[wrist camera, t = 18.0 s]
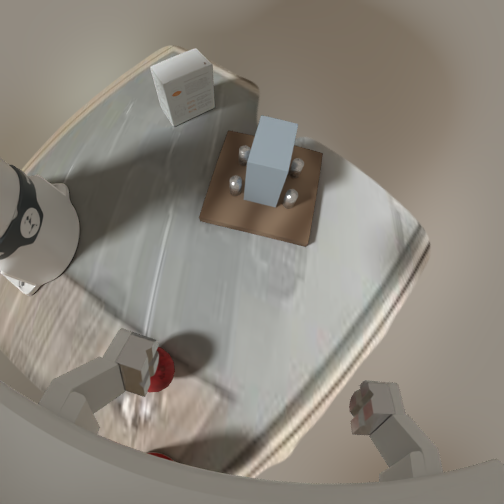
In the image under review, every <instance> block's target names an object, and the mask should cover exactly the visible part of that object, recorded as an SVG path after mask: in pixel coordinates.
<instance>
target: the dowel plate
mask: <svg viewBox="0 0 504 504" xmlns="http://www.w3.org/2000/svg"><path fill="white" fill-rule="evenodd" d="M254 137H255V136H252V135H248V134H243V133H238V132H233V131H228V133H227V135H226V138H225V141H224V144H223V147H222V149H221V152H220V155H219V158H218V161H217V164H216V167H215V170H214V173H213V176H212V179H211V182H210V185H209V188H208V191H207V194H206V197H205V200H204V203H203V207H202V210H201V213H200V216H199V219H200V221H202V222H206V223H210V224H215V225H219V226H223V227H227V228H231V229H236V230H240V231H244V232H248V233H252V234H256V235H260V236H264V237H268V238H273V239H277V240H281V241H285V242H289V243H293V244H297V245H301V246H305V247H306V245H307V244H308V241H309V236H310V230H311V224H312V219H313V213H314V207H315V201H316V195H317V188H318V182H319V175H320V169H321V162H322V155H323V153H320V152H316V151H313V150H309V149H305V148H302V147H298V146H294V147H293V152H292V156H291V161H290V166H289V171H288V174H287V177H286V180H285V182H284V185H283V188H282V191H281V194H280V196H279V199H278V202H277V205H276V207H272V206H268V205H264V204H260V203H255V202H251V201H247V200H244V190H245V180H246V170H247V161H248V158H249V154H250V151H251V147H252V144H253V141H254Z"/></svg>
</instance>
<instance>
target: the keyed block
mask: <svg viewBox="0 0 504 504" xmlns="http://www.w3.org/2000/svg"><path fill="white" fill-rule="evenodd" d="M297 128H298V124H296V123H292V122H288V121H284V120H279V119H276V118H271V117H267V116H263V115H261V118H260V121H259V124H258V128H257V131H256V134H255V137H254V141H253V144H252V147H251V151H250V154H249V158H248V161H247V170H246V180H245V190H244V200H247V201H251V202H255V203H260V204H264V205H268V206H272V207H276V205H277V202H278V199H279V196H280V194H281V191H282V188H283V185H284V182H285V180H286V177H287V174H288V171H289V166H290V161H291V156H292V152H293V147H294V142H295V137H296V132H297Z"/></svg>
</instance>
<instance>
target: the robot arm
mask: <svg viewBox="0 0 504 504" xmlns="http://www.w3.org/2000/svg"><path fill="white" fill-rule="evenodd" d="M78 240H79V219H78V216H77V213H76V210H75V209H74V207H73V205H72V204H71V202H70V198H69V189H68V187H67V186H66V185H65V184H63V183H55V184H51V183H49V182H48V181H47V180H46V179H44V178H43V177H42V176H40V175H38V174H37V175H35V176H27V175H26V174H25V173H24V172H23V171H22V170H20V169H18V168H16V167H15V166H13V165H8V164H7V163H6V162H5V161H4V160H3V159H2V158H0V273H1V274H3V275H4V276H5V277H6V278H7V279H8V280H9V281H10V282H11V283H13V284H14V285H15V286H16V287H17V288H18V289H19V290H20V291H22V292H23V293H24V294H26V295H28V296H30V295H32V294H34V293H35V292H36V291H37V289H38V288H39V287H40V286H41V285H43V284H45V283H47V282H49V281H52V280H53V279H55V278H57V277H58V276H59V275H60V274H61V273H62V272H63V271H64V270H65V269H66V268H67V266H68V265H69V263H70V262H71V260H72V258H73V256H74V253H75V251H76V248H77V244H78ZM24 282H25V285H24ZM157 348H158V340H155V339H152V338H149V337H146V336H143V335H140V334H137V333H134V332H131V331H128V330H126V329H123V328H121V329H120V330H119V331H118V333H117V334H116V336H115V337H114V339H113V341H112V342H111V344H110V346H109V347H108V349H107V351H106V353H105V354H104V356H103V358H102V357H98V358H96V359H94V360H92V361H90V362H88V363H86V364H84V365H82V366H80V367H78V368H76V369H73V370H71V371H69V372H67V373H65V374H63V375H61V376H59V377H57V378H55V379H53V380H52V382H51V384H50V385H49V387H48V388H47V390H46V392H45V393H44V395H43V397H42V398H41V400H40V402H39V403H38V404H37V403H35V402H34V401H32V400H30V399H29V398H27V397H25V396H24V395H22V394H21V393H19V392H18V391H16V390H14V389H13V388H11V387H10V386H8V385H7V384H5V383H4V382H3V381H1V380H0V504H504V464H503V463H502V462H501V461H500V460H498V459H493V460H489V461H486V462H483V463H479V464H476V465H472V466H468V467H465V468H461V469H456V470H453V471H448V472H443V471H442V465H441V460H440V455H439V450H438V448H437V446H436V445H435V444H434V443H433V442H432V441H431V440H430V438H428V436H427V435H426V434H425V433H424V432H423V431H422V429H421V428H420V427H419V426H418V425H417V424H416V423H415V421H413V419H412V418H411V417H410V416H409V415H406V414H405V409H404V405H403V401H402V397H401V393H400V389H399V385H398V384H397V383H390V382H378V381H363V382H362V383H361V385H360V389H359V390H357V391H356V392H354V394H353V395H352V397H351V400H350V406H349V408H350V412H351V414H352V415H353V419H352V420H351V429H352V434H355V435H370V438H371V440H372V441H373V443H374V444H375V446H376V448H377V449H378V451H379V452H380V454H381V455H382V457H383V459H384V460H385V462H386V463H387V465H388V466H389V468H388V469H386V470H385V471H383V472H381V473H380V474H379V482H370V483H347V484H319V483H318V484H317V483H296V482H283V481H273V480H264V479H256V478H249V477H242V476H236V475H230V474H225V473H220V472H215V471H210V470H206V469H201V468H197V467H193V466H189V465H185V464H181V463H177V462H174V461H170V460H167V459H163V458H160V457H157V456H154V455H151V454H148V453H145V452H142V451H139V450H136V449H133V448H130V447H128V446H125V445H122V444H120V443H117V442H115V441H112V440H110V439H107V438H105V437H102V436H100V435H98V434H97V433H98V431H99V428H100V427H99V424H98V422H97V420H96V418H95V417H94V415H93V414H94V413H95V412H97V411H98V410H100V409H101V408H103V407H104V406H105V405H107V404H108V403H110V402H111V401H113V400H114V399H116V398H117V397H118V396H120V395H121V394H123V393H124V392H125V391H128V392H131V393H134V394H137V395H140V396H144V397H145V396H146V394H147V391H148V389H149V386H150V377H152V376H154V374H155V372H156V369H157V366H158V361H159V353H158V352H157V351H156V350H157Z"/></svg>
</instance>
